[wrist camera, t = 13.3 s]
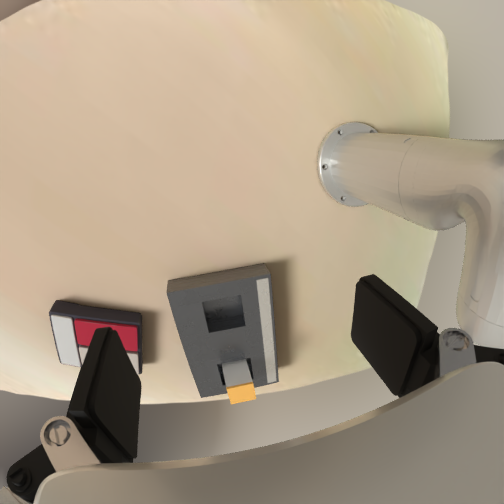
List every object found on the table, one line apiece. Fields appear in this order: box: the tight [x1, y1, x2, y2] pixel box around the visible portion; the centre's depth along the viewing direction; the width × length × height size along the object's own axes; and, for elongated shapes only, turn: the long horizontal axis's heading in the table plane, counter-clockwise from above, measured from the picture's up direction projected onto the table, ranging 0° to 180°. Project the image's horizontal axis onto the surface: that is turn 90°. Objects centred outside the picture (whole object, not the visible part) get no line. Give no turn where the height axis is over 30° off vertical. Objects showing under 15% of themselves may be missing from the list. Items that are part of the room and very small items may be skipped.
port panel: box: [167, 263, 279, 398], centre depth 43 cm, size 14×22×4 cm, turn 6°
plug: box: [222, 359, 256, 404], centre depth 43 cm, size 4×4×8 cm
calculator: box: [49, 300, 143, 374], centre depth 38 cm, size 11×4×15 cm
